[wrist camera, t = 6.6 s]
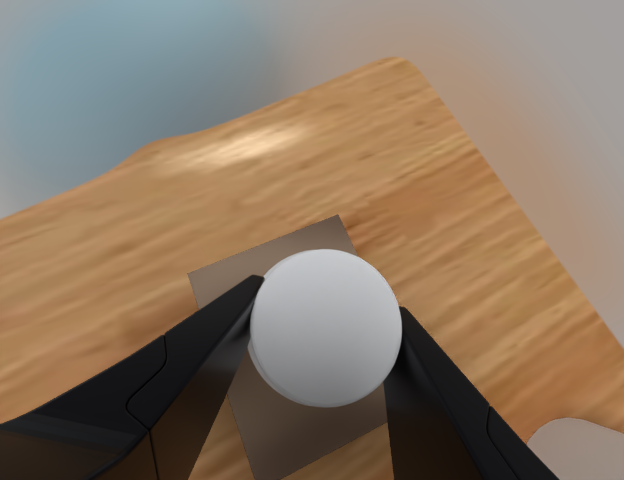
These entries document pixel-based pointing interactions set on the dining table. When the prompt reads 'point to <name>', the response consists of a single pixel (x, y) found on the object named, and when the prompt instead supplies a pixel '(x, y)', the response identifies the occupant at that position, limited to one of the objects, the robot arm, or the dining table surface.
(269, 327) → the supplement bottle
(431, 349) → the robot arm
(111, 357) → the dining table surface
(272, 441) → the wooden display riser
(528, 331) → the dining table surface
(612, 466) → the base with upright slab
